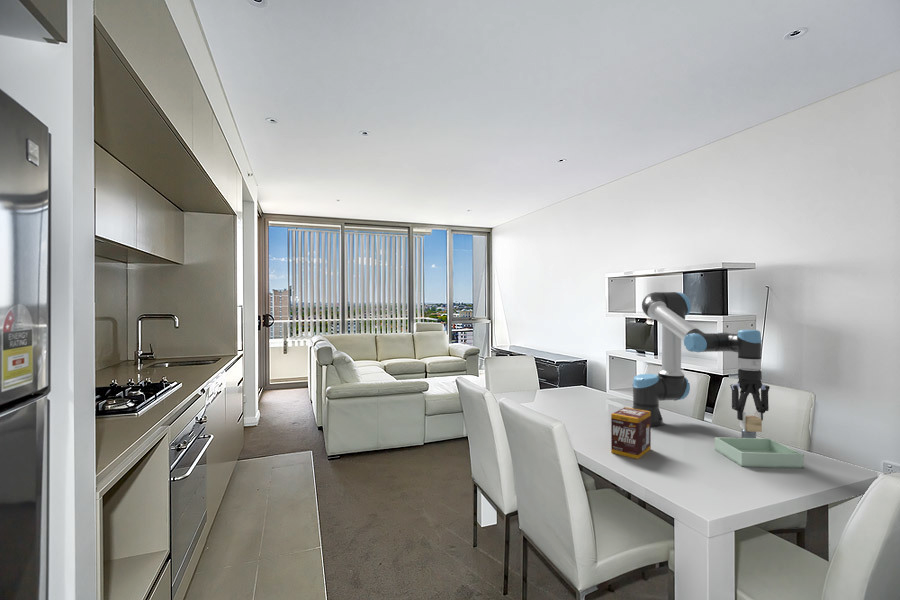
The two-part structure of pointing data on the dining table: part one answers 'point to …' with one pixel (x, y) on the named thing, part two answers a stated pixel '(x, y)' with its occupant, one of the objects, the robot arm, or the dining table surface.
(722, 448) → the tote
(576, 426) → the dining table surface
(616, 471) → the dining table surface
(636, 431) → the supplement box
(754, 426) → the oak cube
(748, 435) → the grey tin
